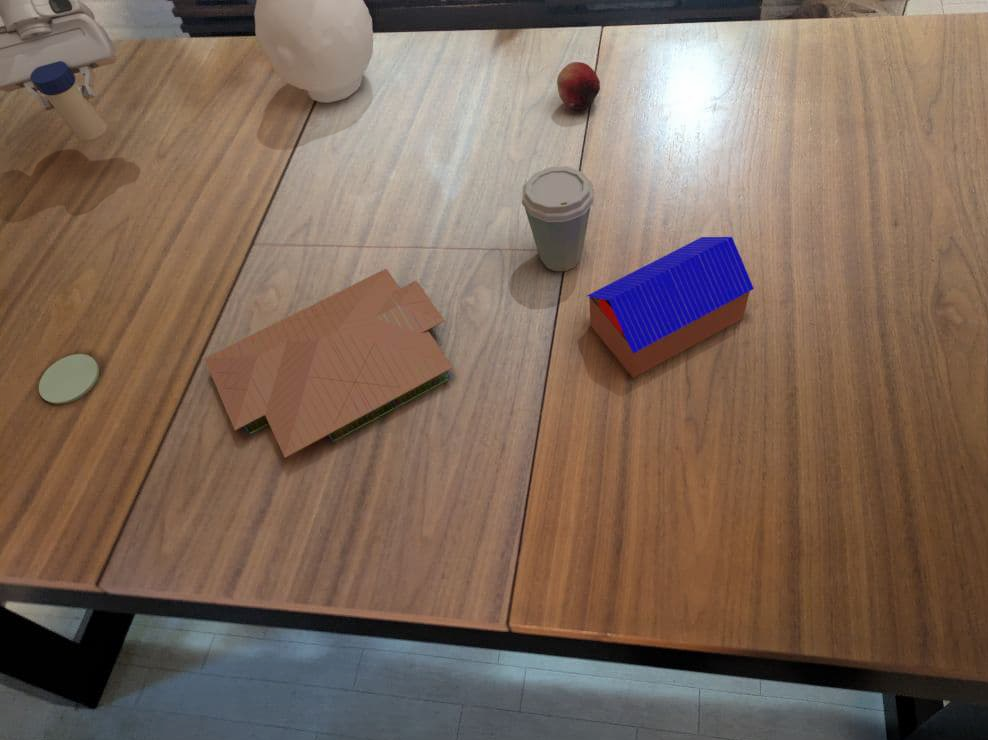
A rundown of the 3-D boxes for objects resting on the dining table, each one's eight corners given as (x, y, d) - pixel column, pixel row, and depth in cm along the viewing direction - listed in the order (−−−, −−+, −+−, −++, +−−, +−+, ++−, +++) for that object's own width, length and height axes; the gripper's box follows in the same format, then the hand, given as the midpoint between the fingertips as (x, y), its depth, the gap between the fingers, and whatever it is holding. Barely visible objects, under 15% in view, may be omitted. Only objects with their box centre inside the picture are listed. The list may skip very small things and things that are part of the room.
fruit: (585, 87, 135) (583, 48, 129) (608, 107, 132) (608, 68, 125) (551, 104, 134) (547, 64, 127) (573, 124, 130) (571, 85, 123)
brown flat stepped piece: (473, 371, 103) (463, 337, 96) (263, 484, 96) (236, 457, 90) (407, 274, 114) (393, 238, 107) (214, 370, 108) (187, 338, 101)
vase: (361, 125, 136) (302, -40, 110) (268, 109, 141) (191, -51, 116) (403, 67, 144) (357, -98, 119) (313, 54, 150) (251, -106, 124)
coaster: (39, 411, 107) (36, 409, 106) (43, 366, 111) (40, 364, 111) (98, 394, 107) (96, 391, 107) (100, 349, 112) (97, 347, 111)
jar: (75, 143, 125) (32, 87, 116) (76, 125, 128) (34, 69, 119) (107, 135, 126) (66, 79, 116) (107, 117, 128) (68, 60, 119)
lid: (38, 98, 117) (28, 86, 115) (40, 78, 120) (31, 66, 118) (75, 89, 118) (66, 77, 116) (76, 69, 121) (67, 57, 119)
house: (746, 318, 104) (760, 263, 94) (632, 380, 100) (634, 330, 90) (697, 267, 110) (705, 211, 100) (587, 324, 106) (584, 271, 96)
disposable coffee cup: (524, 240, 116) (513, 167, 103) (587, 226, 116) (584, 151, 103) (537, 288, 110) (527, 217, 98) (604, 273, 111) (602, 200, 98)
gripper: (-43, 28, 114) (-2, 116, 117) (85, -5, 116) (121, 82, 119) (-20, 41, 120) (18, 123, 123) (101, 9, 122) (135, 91, 126)
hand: (70, 103), depth 121 cm, fingers closed on jar, 5 cm apart
